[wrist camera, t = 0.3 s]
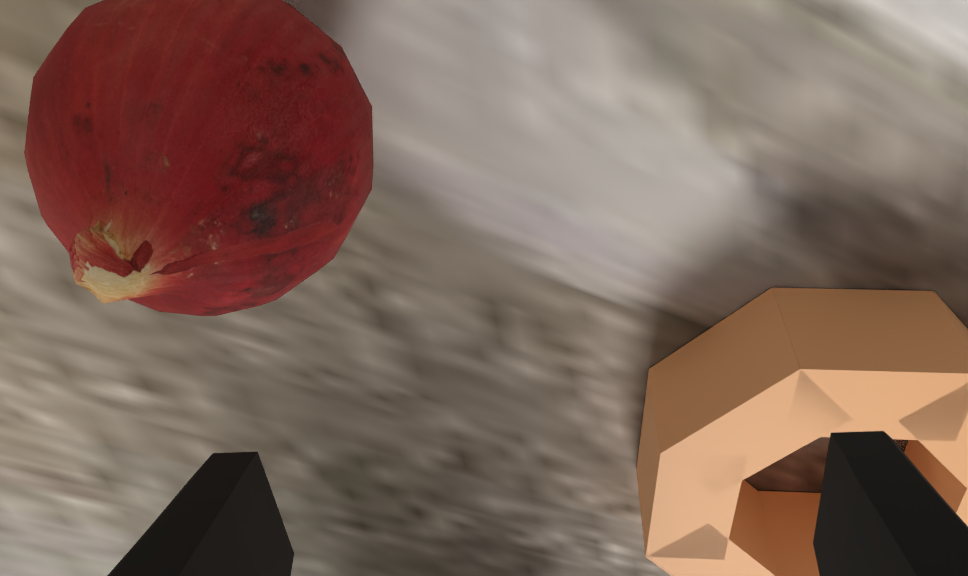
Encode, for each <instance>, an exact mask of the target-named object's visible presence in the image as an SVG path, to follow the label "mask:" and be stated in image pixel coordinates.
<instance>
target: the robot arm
mask: <svg viewBox="0 0 968 576" xmlns="http://www.w3.org/2000/svg"><path fill="white" fill-rule="evenodd" d="M813 546H814V550H815V555H816V560H817V565H818V570H819V575H820V576H968V526H967V525H966V524H965V523H964V522H963V520H962V519H961V518H960V517H959V516H958V515H957V514H956V513H955V511H954V510H953V509H952V508H951V507H950V506H949V505H948V503H947V502H946V501H945V500H944V499H943V498H942V497H941V496H940V494H939V493H938V492H937V491H936V490H935V489H934V487H933V486H932V485H931V484H930V483H929V482H928V481H927V479H926V478H925V477H924V476H923V475H922V474H921V472H920V471H919V470H918V469H917V468H916V466H915V465H914V464H913V463H912V462H911V461H910V459H909V458H908V457H907V456H906V455H905V453H904V452H903V451H902V450H901V449H900V447H899V446H898V445H897V444H896V443H895V442H894V440H893V439H892V438H891V437H890V436H889V435H888V434H887V433H885V432H884V431H864V432H834V433H831V435H830V441H829V447H828V453H827V459H826V466H825V472H824V478H823V484H822V490H821V496H820V502H819V509H818V515H817V521H816V527H815V533H814V539H813ZM293 557H294V552H293V549H292V546H291V543H290V541H289V538H288V535H287V532H286V530H285V527H284V524H283V521H282V518H281V516H280V513H279V510H278V507H277V504H276V502H275V499H274V496H273V493H272V490H271V488H270V485H269V482H268V479H267V477H266V474H265V471H264V468H263V465H262V463H261V460H260V457H259V454H258V452H238V453H213V454H212V455H211V456H210V457H209V458H208V460H207V461H206V462H205V463H204V464H203V465H202V466H201V467H200V469H199V470H198V471H197V472H196V473H195V474H194V475H193V477H192V478H191V479H190V480H189V481H188V483H187V484H186V485H185V486H184V487H183V488H182V490H181V491H180V492H179V493H178V494H177V496H176V497H175V498H174V499H173V500H172V501H171V503H170V504H169V505H168V506H167V507H166V509H165V510H164V511H163V512H162V513H161V514H160V516H159V517H158V518H157V519H156V520H155V522H154V523H153V524H152V525H151V526H150V527H149V529H148V530H147V531H146V532H145V533H144V534H143V536H142V537H141V538H140V539H139V540H138V541H137V543H136V544H135V545H134V546H133V547H132V548H131V549H130V551H129V552H128V553H127V554H126V555H125V556H124V557H123V559H122V560H121V561H120V562H119V563H118V564H117V565H116V566H115V568H114V569H113V570H112V571H111V572H110V573H109V574H108V576H290V575H291V569H292V563H293Z"/></svg>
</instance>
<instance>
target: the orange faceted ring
mask: <svg viewBox="0 0 968 576" xmlns="http://www.w3.org/2000/svg"><path fill="white" fill-rule="evenodd" d="M864 431H884V432H885V433H887V434H888V435H889V436H890V437H891V438H892V439H900V440H908V443H907V445H906V448H905V451H904V453H905V455H906V456H907V457H908V458H909V459H910V461H911V462H912V463H913V464H914V465H915V466H916V468H917V469H918V470H919V471H920V472H921V474H922V475H923V476H924V477H925V478H926V479H927V481H928V482H929V483H930V484H931V485H932V486H933V487H934V489H935V490H936V491H937V492H938V493H939V494H940V496H941V497H942V498H943V499H944V500H945V501H946V502H947V503H948V505H949V506H950V507H951V508H952V509H953V510H954V511H955V513H956V514H957V515H958V516H959V517H960V518H961V519H962V520H963V522H964V523H965V524H966V525H967V526H968V329H967V328H966V326H965V325H964V324H963V323H962V322H961V321H960V320H959V319H958V318H957V316H956V315H955V314H954V313H953V312H952V311H951V310H950V309H949V307H948V306H947V305H946V304H945V303H944V302H943V301H942V300H941V299H940V297H939V296H938V295H937V294H936V293H935V292H934V291H909V290H863V289H817V288H770V289H769V290H767V291H766V292H764V293H763V294H761V295H760V296H758V297H757V298H755V299H754V300H752V301H751V302H749V303H748V304H746V305H745V306H743V307H742V308H740V309H739V310H737V311H735V312H734V313H732V314H731V315H729V316H728V317H726V318H725V319H723V320H722V321H720V322H719V323H717V324H716V325H714V326H713V327H711V328H710V329H708V330H707V331H705V332H704V333H702V334H701V335H699V336H698V337H696V338H695V339H693V340H692V341H690V342H689V343H687V344H686V345H684V346H683V347H681V348H680V349H678V350H677V351H675V352H674V353H672V354H671V355H669V356H668V357H666V358H665V359H663V360H662V361H660V362H659V363H657V364H656V365H654V366H653V367H651V368H650V369H649V372H648V380H647V388H646V396H645V404H644V412H643V421H642V429H641V437H640V445H639V453H638V461H637V480H638V489H639V498H640V508H641V517H642V526H643V536H644V545H645V555H646V557H647V558H648V559H649V560H651V561H652V562H653V563H655V564H656V565H657V566H659V567H660V568H662V569H663V570H664V571H666V572H667V573H668V574H670V575H671V576H820V575H819V570H818V565H817V560H816V555H815V550H814V546H813V539H814V533H815V527H816V521H817V515H818V509H819V502H820V496H821V493H806V492H778V491H757V490H756V489H755V488H753V487H752V486H751V485H750V484H749V483H747V482H746V481H745V480H744V479H746V478H748V477H749V476H751V475H753V474H755V473H757V472H758V471H760V470H762V469H764V468H766V467H767V466H769V465H771V464H773V463H775V462H776V461H778V460H780V459H782V458H784V457H785V456H787V455H789V454H791V453H793V452H794V451H796V450H798V449H800V448H802V447H803V446H805V445H807V444H809V443H811V442H812V441H814V440H816V439H818V438H820V437H830V435H831V433H834V432H864Z"/></svg>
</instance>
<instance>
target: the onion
mask: <svg viewBox="0 0 968 576" xmlns="http://www.w3.org/2000/svg"><path fill="white" fill-rule="evenodd" d="M24 153H25V158H26V163H27V168H28V172H29V175H30V179H31V182H32V185H33V189H34V192H35V196H36V199H37V202H38V206H39V209H40V212H41V216H42V217H43V219H44V220H45V222H46V224H47V225H48V227H49V228H50V229H51V230H52V232H53V233H54V234H55V236H56V237H57V238H58V239H59V241H60V242H61V243H62V245H63V246H64V247H65V248H66V250H67V251H68V252H69V254H70V260H71V267H72V271H73V275H74V279H75V283H76V284H78V285H80V286H82V287H83V288H85V289H87V290H89V291H91V292H92V293H93V294H94V295H95V296H96V297H97V298H98V299H99V300H100V301H101V302H102V303H103V304H104V303H109V302H114V301H120V300H126V299H129V300H131V301H134V302H136V303H139V304H141V305H144V306H146V307H149V308H151V309H154V310H157V311H160V312H169V313H179V314H189V315H199V316H217V315H221V314H225V313H230V312H234V311H238V310H242V309H247V308H251V307H255V306H260V305H262V304H265V303H268V302H271V301H274V300H277V299H278V298H279V297H281V296H282V295H284V294H285V293H287V292H288V291H289V290H291V289H292V288H294V287H295V286H297V285H298V284H299V283H301V282H302V281H304V280H305V279H307V278H308V277H309V276H311V275H312V274H314V273H315V272H317V271H318V270H319V269H320V268H322V267H323V266H324V265H326V264H327V263H328V262H330V261H331V260H332V259H333V258H334V257H335V255H336V253H337V252H338V250H339V248H340V247H341V245H342V243H343V242H344V240H345V238H346V237H347V235H348V233H349V231H350V229H351V227H352V225H353V223H354V222H355V220H356V218H357V216H358V214H359V212H360V210H361V208H362V206H363V205H364V203H365V201H366V199H367V197H368V195H369V193H370V191H371V190H372V178H373V130H372V106H371V104H370V102H369V100H368V98H367V96H366V94H365V92H364V90H363V88H362V86H361V84H360V82H359V80H358V78H357V76H356V74H355V72H354V70H353V68H352V67H351V65H350V63H349V61H348V59H347V57H346V55H345V53H344V51H343V49H342V47H341V46H340V45H338V44H337V43H336V42H335V41H334V40H332V39H331V38H330V37H329V36H328V35H326V34H325V33H324V32H323V31H322V30H320V29H319V28H318V27H317V26H316V25H314V24H313V23H312V22H311V21H310V20H308V19H307V18H306V17H305V16H303V15H302V14H301V13H300V12H299V11H297V10H296V9H295V8H294V7H293V6H291V5H290V4H289V3H286V2H284V1H282V0H104V1H101V2H99V3H96V4H94V5H91V6H89V7H86V8H85V9H84V10H83V11H82V12H81V13H80V14H79V16H78V17H77V18H76V19H75V20H74V21H73V22H72V23H71V25H70V26H69V27H68V28H67V29H66V31H65V32H64V34H63V35H62V36H61V38H60V39H59V41H58V42H57V43H56V45H55V46H54V48H53V49H52V51H51V52H50V53H49V55H48V56H47V58H46V59H45V61H44V62H43V64H42V65H41V67H40V68H39V70H38V71H37V73H36V74H35V76H34V78H33V84H32V91H31V98H30V106H29V115H28V125H27V134H26V143H25V152H24Z"/></svg>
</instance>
